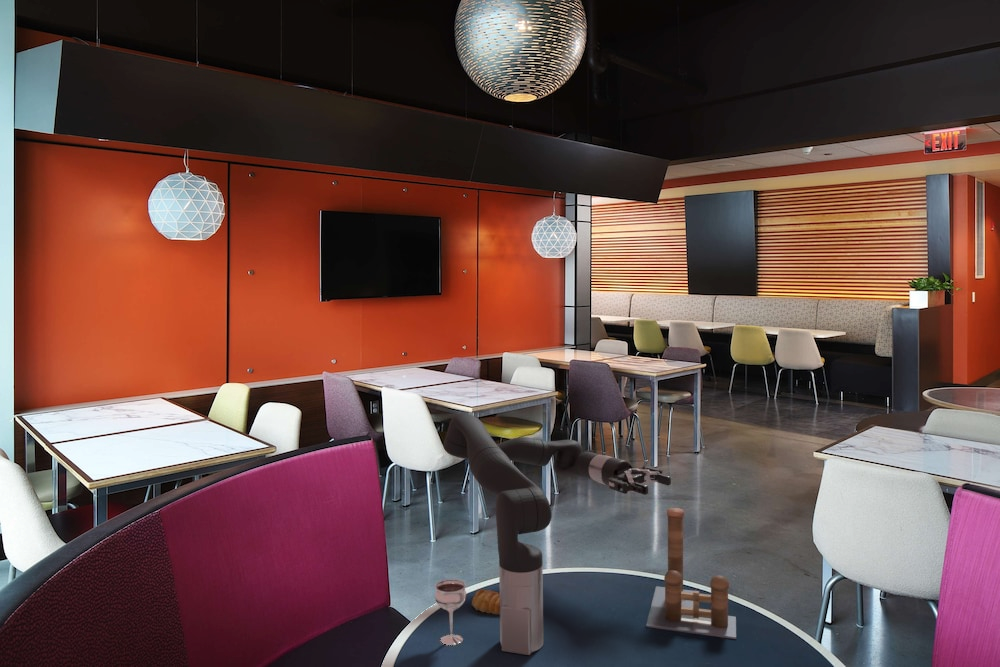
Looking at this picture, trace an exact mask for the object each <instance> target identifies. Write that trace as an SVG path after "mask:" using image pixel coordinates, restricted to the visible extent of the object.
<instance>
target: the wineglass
mask: <svg viewBox="0 0 1000 667" xmlns="http://www.w3.org/2000/svg"><path fill="white" fill-rule="evenodd" d="M466 586H467V584H466V582H464V581H463V580H461V579H460V580H459V579H455V578H454V579H443V580H441V581H438V582H437V583H435V585H434V587H435V589H436V590H435V594H434V598H435V601H436V602H435V603H436V604H437V605H438V606H439V608H441V609H443V610H445V611H447V612H448V614H449V615H448V616H449V632H450V635H449V634H445V635H446V636H445V635H443V636H442V637H440V639H441V640H439V642H440V641H441V642H442V643H443V644H442V643H441V642H440V643H441V644H442V645H444V644H446V645H445V646H448V645H449V647H451V646H452V645H453V646H457V645H460V644H461V643H462V642H463V640H464V638H463V637H462V636H461V635H459V634H456V635H455V633H453V620H454V615H453V614H454V611H456V610H458V609H459V608H461V607H462V606H463V605H464V604H465V601H466V599H467V591H466V589H465V588H466ZM459 643H460V644H459ZM450 645H451V646H450Z"/></svg>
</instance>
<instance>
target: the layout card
mask: <svg viewBox="0 0 1000 667" xmlns="http://www.w3.org/2000/svg"><path fill="white" fill-rule="evenodd" d="M693 591H694V590H691V589H690V590H689V589H683V592H692V593H693ZM682 606H683V607H691V608H693V601H689V600H682ZM645 627H646V628H651V629H659V630H664V631H665V630H666V631H674V632H679V633H687V634H696V635H702V636H710V637H716V638H717V637H718V638H725V639H733V640H737V617H736V616H733V615H728V627H727V628H716V627H714V626H712V625H711V618H703V617H699V619H697V618H693V616H687V615H682V617H681V621H680V622H670V621H668V620H666V619H665V586H659V585H658V586H655V590H654V593H653V597H652V601H651V604H650V608H649V613H648V616H647V621H646V626H645Z"/></svg>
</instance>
